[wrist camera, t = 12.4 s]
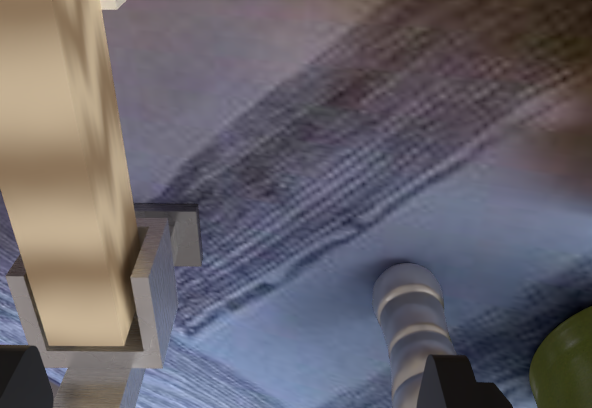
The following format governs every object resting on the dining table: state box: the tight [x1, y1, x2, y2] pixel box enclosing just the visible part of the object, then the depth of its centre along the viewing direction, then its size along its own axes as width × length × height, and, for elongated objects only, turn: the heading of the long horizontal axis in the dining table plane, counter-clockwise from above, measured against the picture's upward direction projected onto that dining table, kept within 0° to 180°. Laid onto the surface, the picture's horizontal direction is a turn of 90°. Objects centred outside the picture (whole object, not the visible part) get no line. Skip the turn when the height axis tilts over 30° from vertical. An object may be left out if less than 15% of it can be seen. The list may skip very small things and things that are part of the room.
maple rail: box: [0, 0, 141, 346], centre depth 29 cm, size 24×4×6 cm, turn 179°
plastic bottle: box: [372, 263, 457, 408], centre depth 46 cm, size 6×7×20 cm
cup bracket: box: [6, 203, 203, 408], centre depth 40 cm, size 12×8×22 cm, turn 179°
